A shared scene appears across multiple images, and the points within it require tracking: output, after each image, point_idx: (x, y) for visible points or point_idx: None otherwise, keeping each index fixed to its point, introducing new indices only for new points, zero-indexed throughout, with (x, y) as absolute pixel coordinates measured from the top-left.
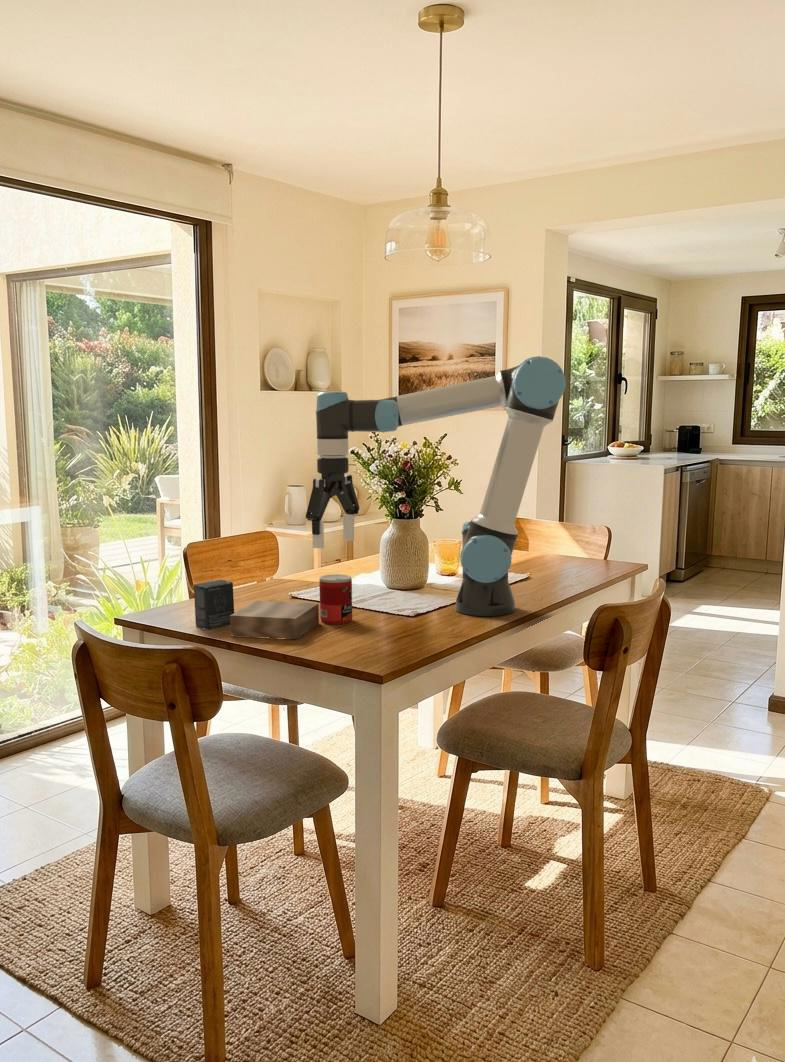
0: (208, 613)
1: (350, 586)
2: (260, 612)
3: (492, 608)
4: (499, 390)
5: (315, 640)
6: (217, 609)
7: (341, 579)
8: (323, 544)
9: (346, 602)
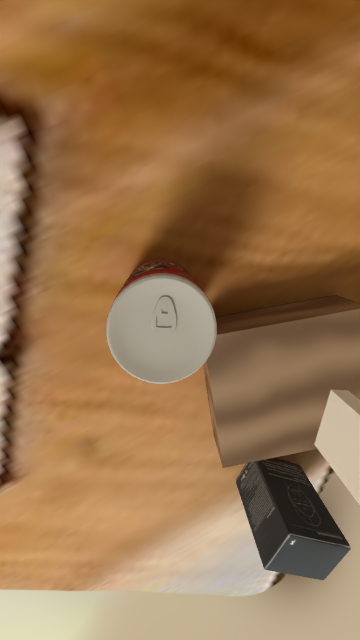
0: (313, 490)
1: (159, 270)
2: (325, 405)
3: None
4: None
5: (329, 257)
6: (299, 490)
7: (172, 303)
8: (351, 403)
9: (178, 268)
